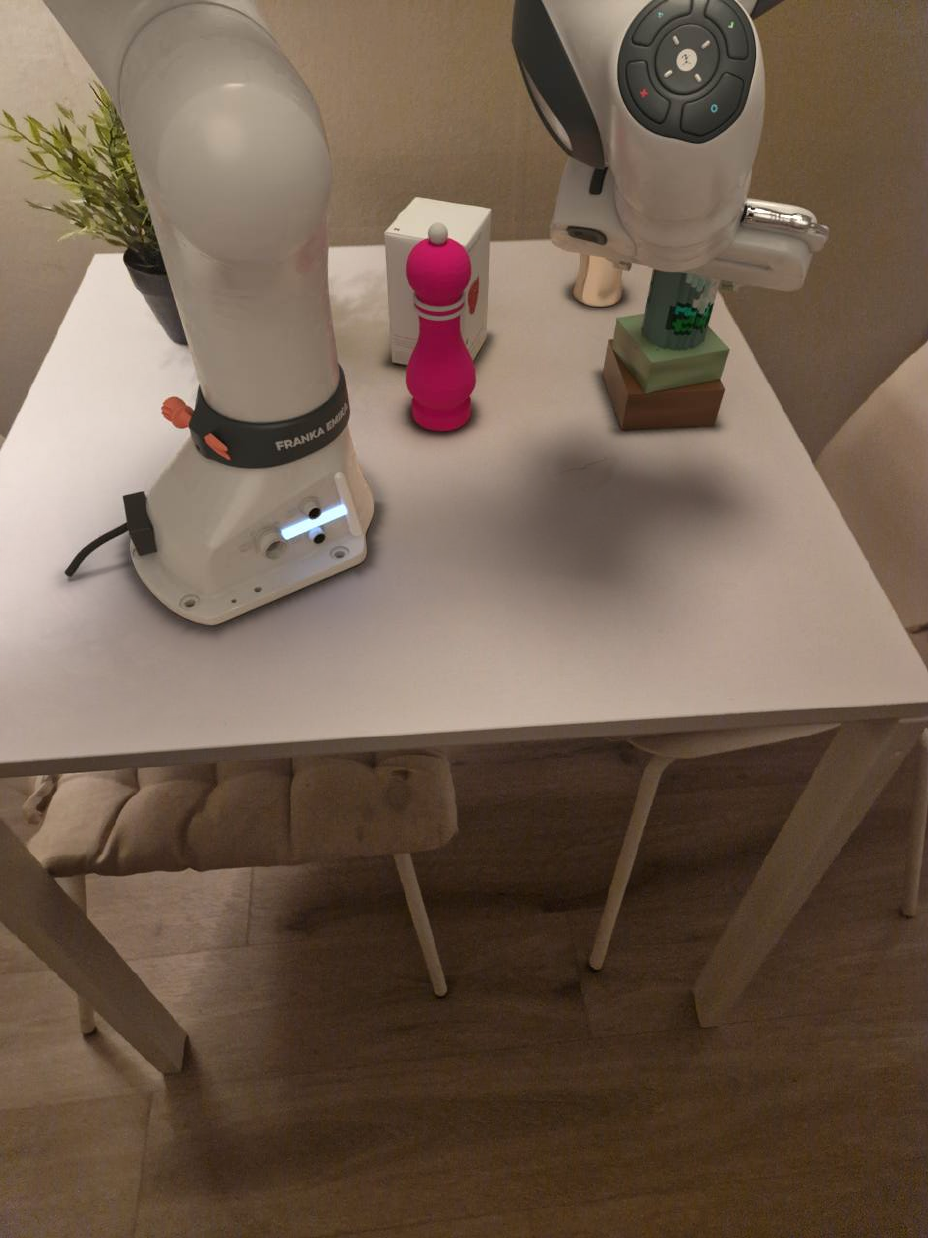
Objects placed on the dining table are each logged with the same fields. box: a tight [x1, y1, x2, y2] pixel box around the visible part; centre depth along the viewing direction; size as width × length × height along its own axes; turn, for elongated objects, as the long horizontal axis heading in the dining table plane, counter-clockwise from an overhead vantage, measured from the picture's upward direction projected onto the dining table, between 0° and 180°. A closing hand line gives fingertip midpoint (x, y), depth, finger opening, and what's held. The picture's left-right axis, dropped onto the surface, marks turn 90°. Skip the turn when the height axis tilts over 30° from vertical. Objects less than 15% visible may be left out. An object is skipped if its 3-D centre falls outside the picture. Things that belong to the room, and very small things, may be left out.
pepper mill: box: [405, 222, 477, 432], centre depth 77 cm, size 7×7×20 cm
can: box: [641, 268, 721, 351], centre depth 75 cm, size 6×6×15 cm
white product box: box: [383, 196, 492, 366], centre depth 87 cm, size 9×9×15 cm
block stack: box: [602, 313, 731, 431], centre depth 84 cm, size 10×10×8 cm
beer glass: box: [572, 253, 623, 308], centre depth 95 cm, size 7×7×15 cm
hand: (677, 271), depth 69 cm, fingers open, 8 cm apart
